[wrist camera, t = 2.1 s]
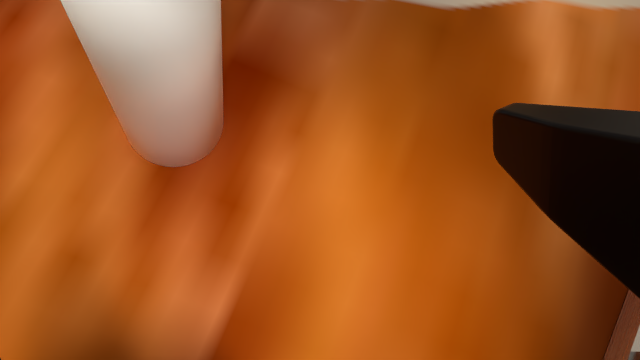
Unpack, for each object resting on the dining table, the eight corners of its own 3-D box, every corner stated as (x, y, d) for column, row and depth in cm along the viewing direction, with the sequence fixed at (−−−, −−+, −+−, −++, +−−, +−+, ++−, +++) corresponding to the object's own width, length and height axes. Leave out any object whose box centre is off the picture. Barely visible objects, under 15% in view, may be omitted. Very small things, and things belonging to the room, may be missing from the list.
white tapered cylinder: (170, 187, 23) (90, -39, 10) (102, 118, 23) (-67, -193, 10) (243, 123, 24) (262, -156, 11) (177, 58, 24) (116, -288, 11)
